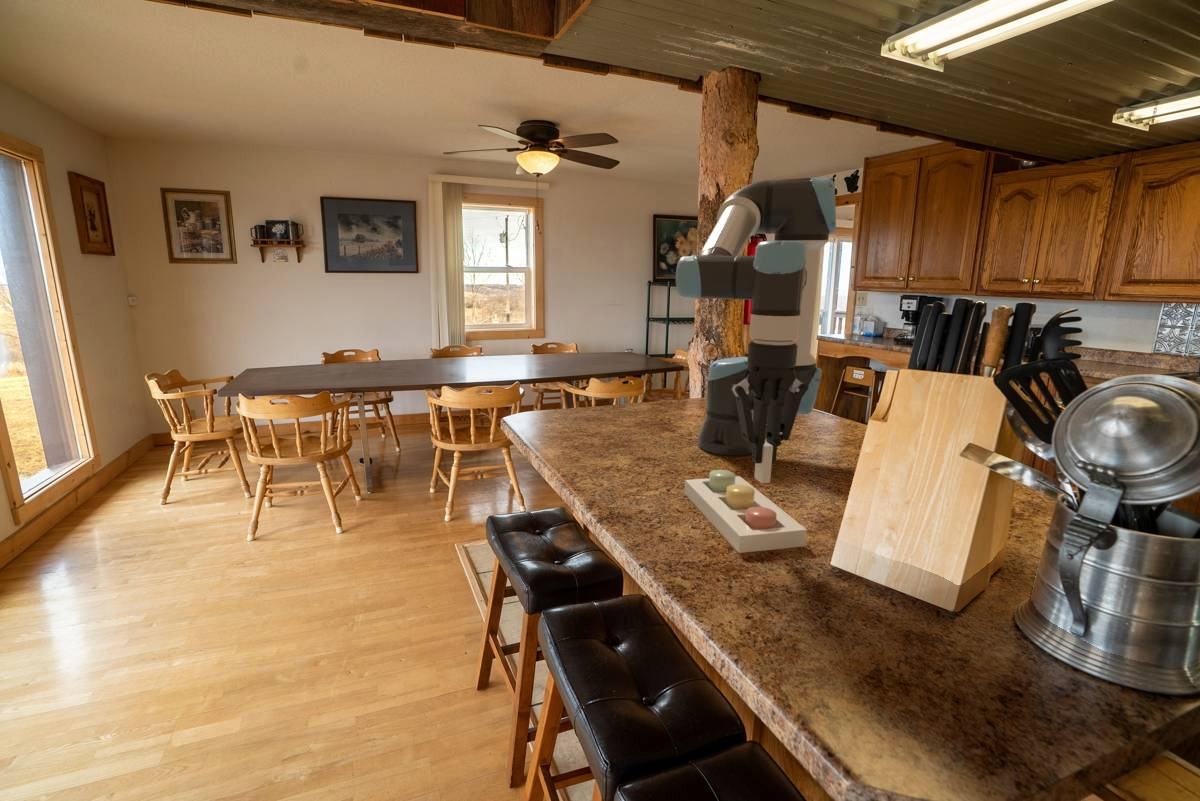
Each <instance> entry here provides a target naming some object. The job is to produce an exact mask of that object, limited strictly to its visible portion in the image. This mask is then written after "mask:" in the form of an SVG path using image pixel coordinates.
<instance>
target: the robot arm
mask: <svg viewBox="0 0 1200 801" xmlns="http://www.w3.org/2000/svg"><path fill="white" fill-rule="evenodd" d="M835 186H836V185H835V183H834V181H833V180H832V179H831V178H828V177H812V176H811V177H802V178H801V177H800V178H787V179H773V180H772V179H767V180H766V179H765V180H759V181H755V182H752V183H750V184H748V185H745V186H744V187H741V188H740V189H738V190H736V191H735V192H733V193H732V194H731V195H730V196H728V197H727V198H726V199H725V200H724V201H723V203H722V204H721V205H720V207H719V210H718V211H717V215H716V224H715V225H714V227H713V229H712V231H711V233H710V234H709V236H708V238H707V240H706V241H705V243H704V245H703V246H702V248H701V250H700V252H699V254H698V255H696V254H692V255H685V256H682V257H680V258H679V260H678V262H677V265H676V270H675V287H676V291H677V293H678V295H679V296H680V297H682V298H687V299H688V298H689V299H697V300H701V299H702V300H703V299H704V300H706V299H708V300H709V299H710V300H711V299H713V300H716V299H718V300H719V299H720V300H745V301H746V300H748V301H749V300H750V301H751V310H750V318H749V319H750V320H749V321H750V322H749V335H748V337H749V338H750V339H751V340H752V341H750V342H749V343H748V346H747V347H748V349H747V356H737V357H736V356H735V357H734V356H733V357H727V358H720V359H717V360H715V361H713V362H711V363H710V365H709V368H708V376H707V379H706V380H707V392H706V394H707V395H706V415H705V419H704V421H703V424H702V426H701V429H700V430H699V435H698V436H697V447H699V448H700V449H701V450H703V451H705V452H707V453H711V454H715V455H721V456H735V457H736V456H738V457H739V456H747V455H751V460H752V462H754V463H755V464H754V465H755V466H754V475H753V476H754V479H755V480H756V481H757V482H759V483H761V484H771V477H772V476H771V475H772V466H773V463H775V462H776V461H777V453H778V452H777V451H778V447H780V446H781V445H782V444H783V443H782V442H783V441H788V440H789V439H790V437H791V434H792V430H793V427H794V425H795V421H796V419H797V416H798V415H801V416H803V415H804V416H806V415H809V414H810V413H812V411H813V409H814V406H815V403H816V400H817V396H818V390H819V386H820V382H821V378H822V374H823V370H822V369H821V368H820V367H817V359H816V358H815V357H814V356H813V355H812V354H811V351H812V350H811V349H812V341H813V340H812V339H813V328H814V318H815V310H816V308H815V307H816V298H817V296H816V295H817V286H818V276H819V268H820V267H819V266H820V265H819V264H820V255H821V254H820V253H821V249H822V248H823V247H824V246H825V245H826V244H827V243H828V242H829V237H830V236H829V235H830V234H835V233H836V232H837V221H836V220H837V219H836V212H837V211H836V188H835ZM759 234H761V235H762V234H763V235H764V234H765V235H769V234H772V235H774V240H765V241H760V242H758V244H757V245H756V246H755V252H754V255H743V252H744V250H745V248H746V245H747V243H748V241H749V239H750V238H751V237H752V236H754V235H759Z"/></svg>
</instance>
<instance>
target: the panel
mask: <svg viewBox="0 0 1200 801" xmlns="http://www.w3.org/2000/svg"><path fill="white" fill-rule="evenodd" d="M736 484H738V485H746V486H749V487H751V488H753V489H754V490H755V493H754V506H753V507H765V508H768V509H771V510H773V511H775V512H776V514H777V516H776V527H775V528H772V529H762V530H752V529H751V528H750V527H749V526H748V525H746V524H745V519H746V510H747V509H741V510H735V509H732V508H729V507H728V506H727V505H726V492H721V493H717V492H713V491H711V490H710V489H709V477H708V478H694V479H684V492H683V493H684V495H685V496H686V498H688V499H689V500H690V502H692V504H693V505H694V506H695V507H696V508H697V509H698V511H699V512H700V513H701V514H702V515H703V516H704V517H705V518H706V519H707V520H708V521H709V522H710V524H711V525H712V526H713V527H714V528H715V529H716V531H717V532H719V533H720V535H722V537H723V538H724V539H725V540H726V541H727V542H728V543H729V544H730V546H732V548H733V549H734V550H735V552H737V554H743V553H753V552H760V551H761V552H762V551H763V552H765V551H773V550H782V549H784V550H785V549H793V548H802V547H806V546H807V545H806V543H807V534H808V529H807V528H806V527H804V526H803V525H802V524H801V523H800V522H798V521H797V520H796V519H794V518H793V517H792V516H791V515H790V514H788V513H787V512H785V511H784V510H783V509H782V508H780V507H779V506H778V505H777V504H776V503H775V502H773V501H772V500H770V499H769V498H768V497H767V496H765V495H764V494H762V493H761V492H760V490H758V489H756V488H755V487H754V486H753V485H752V484H750V483H749V482H747V481H746V480H745V479H744V478H743V477H742V476H740V475H735V485H736Z"/></svg>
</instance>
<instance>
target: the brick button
mask: <svg viewBox="0 0 1200 801" xmlns="http://www.w3.org/2000/svg"><path fill="white" fill-rule="evenodd" d="M776 516H777V514H776V512H775V511H773V510H771V509H768V508H765V507H750V508H748V509H747V510H746V519H745V524H746V525H748V526H749V527H750V528H751V529H752V530H762V529H772V528H775V527H776Z"/></svg>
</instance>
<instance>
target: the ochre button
mask: <svg viewBox="0 0 1200 801" xmlns="http://www.w3.org/2000/svg"><path fill="white" fill-rule="evenodd" d="M754 493H755V490H754V489H753V488H751V487H749V486H746V485H738V484H736V485H730V486H728V487H727V491H726V505H727V506H728V507H729V508H732V509H735V510H741V509H748V508H750V507H753V506H754Z"/></svg>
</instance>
